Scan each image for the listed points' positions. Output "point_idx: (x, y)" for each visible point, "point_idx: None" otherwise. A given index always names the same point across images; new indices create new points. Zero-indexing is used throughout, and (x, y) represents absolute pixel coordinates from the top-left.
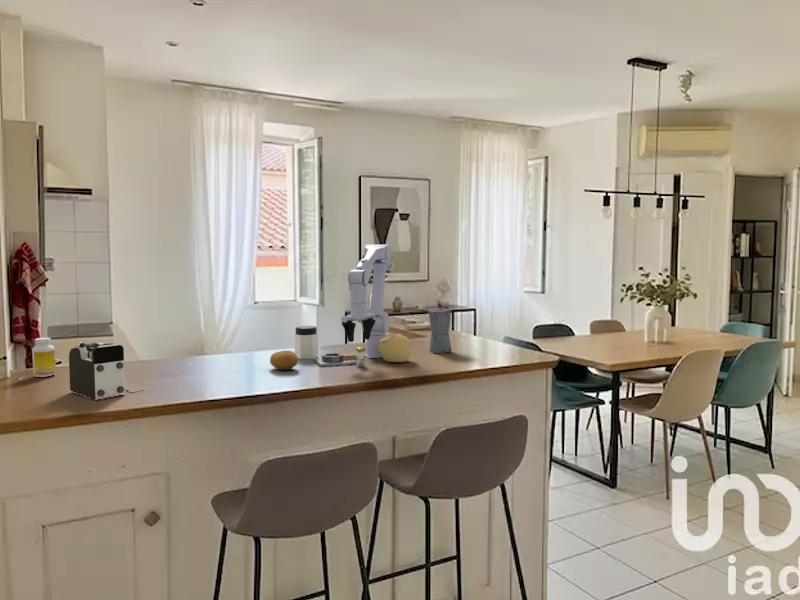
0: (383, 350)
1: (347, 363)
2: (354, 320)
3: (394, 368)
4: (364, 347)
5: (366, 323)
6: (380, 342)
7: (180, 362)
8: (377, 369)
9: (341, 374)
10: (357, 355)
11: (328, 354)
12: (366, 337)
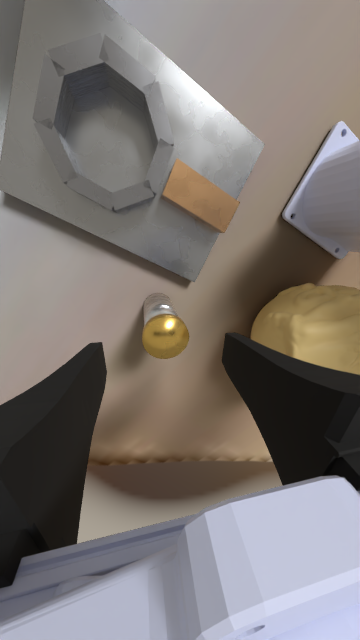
0: (262, 341)
1: (136, 254)
2: (113, 557)
3: (204, 384)
4: (185, 342)
5: (293, 437)
6: (288, 339)
7: None
8: (163, 370)
9: (24, 366)
10: (144, 324)
11: (110, 69)
12: (227, 357)
